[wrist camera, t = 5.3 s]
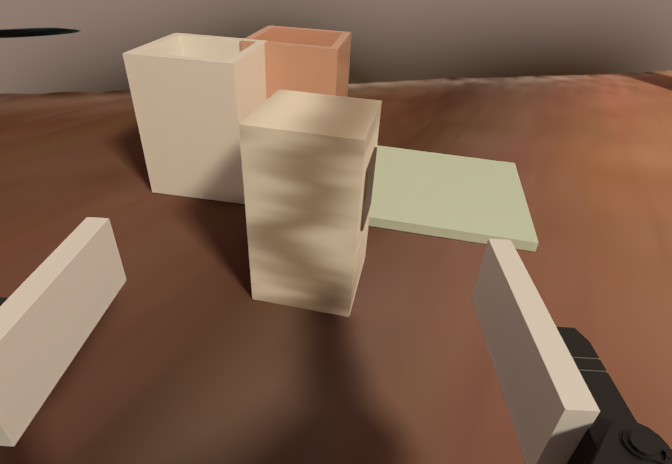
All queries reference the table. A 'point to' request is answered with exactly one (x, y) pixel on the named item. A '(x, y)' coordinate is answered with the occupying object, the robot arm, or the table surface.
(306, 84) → the terracotta open box
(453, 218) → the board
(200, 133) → the white open box
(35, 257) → the table surface
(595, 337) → the table surface
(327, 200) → the beige rectangular block
